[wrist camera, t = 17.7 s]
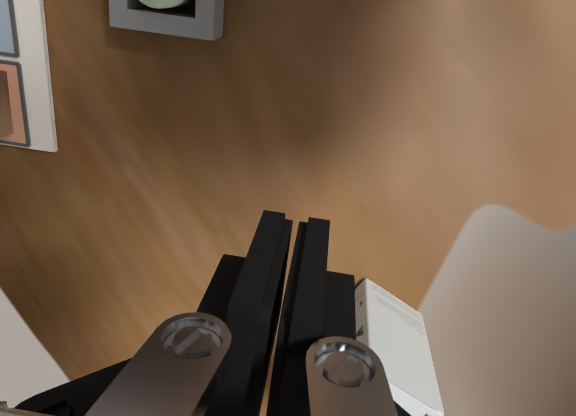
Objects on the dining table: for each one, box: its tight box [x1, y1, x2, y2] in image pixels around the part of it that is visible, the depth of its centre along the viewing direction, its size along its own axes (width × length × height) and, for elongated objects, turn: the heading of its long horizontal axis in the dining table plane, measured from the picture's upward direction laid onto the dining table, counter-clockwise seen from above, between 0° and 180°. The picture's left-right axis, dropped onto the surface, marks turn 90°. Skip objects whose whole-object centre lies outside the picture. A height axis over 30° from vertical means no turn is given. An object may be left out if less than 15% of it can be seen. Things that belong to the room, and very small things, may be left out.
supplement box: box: [355, 278, 444, 416], centre depth 42 cm, size 7×7×13 cm
